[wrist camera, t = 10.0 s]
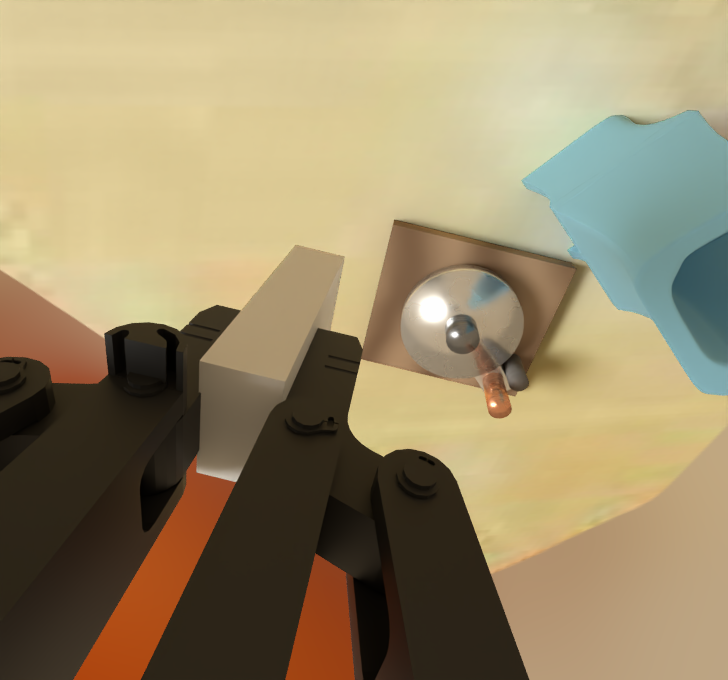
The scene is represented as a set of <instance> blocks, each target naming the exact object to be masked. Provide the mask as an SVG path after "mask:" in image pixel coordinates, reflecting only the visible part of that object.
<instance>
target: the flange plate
mask: <svg viewBox="0 0 728 680" xmlns="http://www.w3.org/2000/svg"><path fill="white" fill-rule="evenodd" d="M523 329H524V316H523V311H522V307H521V305H520V303H519V301H518V298H517V296H516V294H515V292H514V291H513V289H512V287H511V286H510V285H509V284H508V283H507V281H505V280H504V279H503V278H502V277H501V276H499V275H498V274H496V273H495V272H493V271H490V270H488V269H486V268H483V267H479V266H474V265H453V266H448V267H444V268H441V269H438V270H436V271H434V272H432V273H430V274H429V275H427V276H425V277H424V278H423V279H422V280H420V281H419V282H418V283H417V284H416V285H415V286H414V287H413V289H412V290H411V291H410V293H409V294H408V296H407V298H406V300H405V303H404V306H403V310H402V316H401V336H402V340H403V343H404V346H405V348H406V350H407V352H408V353H409V355H410V356H411V357H412V359H413V360H414V361H415V362H416V363H417V364H419V365H420V366H421V367H423V368H424V369H426V370H428V371H429V372H431V373H434V374H436V375H439V376H443V377H448V378H456V379H462V378H472V377H475V379H476V380H477V382H478V383H479V385H480V387H481V388H482V390H483V391H484V393H485V397H486V402H487V407H488V412H489V414H490V415H491V416H492V417H494V418H504V417H506V416H508V415H509V414H510V413H511V410H512V408H511V404H510V400H509V397H508V393H507V391H508V390H510V389H511V388H510V387H509V384H508V380H507V377H506V374H505V370H504V367H503V365H502V364H503V363H504V362H505V361H507V360H508V359H509V357H510V356H511V355H512V354H513V353H514V351H515V350H516V348H517V347H518V345H519V343H520V340H521V337H522V334H523Z"/></svg>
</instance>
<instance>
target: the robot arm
mask: <svg viewBox="0 0 728 680" xmlns="http://www.w3.org/2000/svg"><path fill="white" fill-rule="evenodd" d="M344 258H345V257H344V256H340V255H336V254H331V253H327V252H323V251H319V250H315V249H311V248H307V247H303V246H299V245H295V246H294V248H293V249H292V250H291V251H290V252H289V254H288V255H287V256H286V257H285V258H284V260H283V261H282V262H281V263H280V264H279V266H278V267H277V268H276V269H275V270H274V272H273V273H272V274H271V275H270V276H269V278H268V279H267V280H266V281H265V283H264V284H263V285H262V286H261V287H260V289H259V290H258V291H257V292H256V293H255V295H254V296H253V297H252V298H251V299H250V301H249V302H248V303H247V304H246V305H245V307H244V308H243V309H242V310H241V311H240V310H236V309H232V308H228V307H224V306H219V305H216V306H213V307H211V308H209V309H206V310H204V311H201V312H199V313H198V314H197V315H196V316H195V317H194V318H193V319H192V320H191V321H190V322H189V325H186V326H185V327H184V328H183V329H182V330H181V331H178V330H177V329H175V328H172V327H169V326H167V325H164V324H156V323H149V322H148V323H131V324H127V325H123V326H119V327H116V328H114V329H112V330H110V331H108V332H106V333H104V335H105V345H106V355H107V365H108V375H107V376H106V377H105V378H104V379H103V380H102V381H100V382H99V383H98V384H69V383H52V381H51V375H50V371H49V368H48V367H47V366H45V365H44V364H43V363H41V362H40V361H37V360H33V359H29V358H24V357H3V358H0V680H73V679H74V677H75V676H76V674H77V672H78V671H79V669H80V667H81V666H82V664H83V662H84V660H85V659H86V657H87V655H88V653H89V652H90V650H91V649H92V647H93V645H94V644H95V642H96V640H97V639H98V637H99V635H100V633H101V632H102V630H103V628H104V627H105V625H106V623H107V622H108V620H109V618H110V617H111V615H112V613H113V612H114V610H115V608H116V606H117V605H118V603H119V601H120V600H121V598H122V596H123V594H124V593H125V591H126V589H127V588H128V586H129V585H130V583H131V581H132V579H133V578H134V576H135V574H136V573H137V571H138V569H139V568H140V566H141V564H142V563H143V561H144V559H145V557H146V556H147V554H148V552H149V551H150V549H151V547H152V546H153V544H154V542H155V541H156V539H157V537H158V535H159V534H160V532H161V531H162V529H163V527H164V525H165V524H166V522H167V520H168V519H169V517H170V515H171V514H172V512H173V510H174V508H175V507H176V505H177V504H178V502H179V500H180V498H181V497H182V495H183V492H184V489H185V486H186V471H187V469H188V467H189V466H190V464H191V462H192V461H193V459H194V458H195V456H196V455H197V473H202V474H206V475H210V476H214V477H218V478H222V479H226V480H231V481H234V482H236V484H235V486H234V488H233V490H232V492H231V494H230V496H229V498H228V500H227V502H226V505H225V507H224V509H223V511H222V513H221V515H220V517H219V519H218V521H217V523H216V525H215V528H214V529H213V532H212V534H211V536H210V538H209V540H208V542H207V544H206V546H205V548H204V550H203V552H202V554H201V556H200V558H199V560H198V563H197V565H196V567H195V569H194V571H193V573H192V575H191V577H190V579H189V581H188V583H187V585H186V587H185V589H184V591H183V594H182V596H181V598H180V600H179V602H178V604H177V606H176V608H175V610H174V612H173V614H172V617H171V618H170V620H169V623H168V625H167V627H166V629H165V631H164V633H163V635H162V637H161V639H160V641H159V644H158V646H157V648H156V650H155V652H154V654H153V656H152V658H151V660H150V662H149V664H148V666H147V669H146V670H145V672H144V674H143V676H142V678H141V680H285V678H286V674H287V670H288V666H289V661H290V657H291V653H292V649H293V645H294V640H295V636H296V632H297V628H298V623H299V619H300V615H301V611H302V607H303V602H304V598H305V594H306V590H307V586H308V582H309V577H310V573H311V569H312V565H313V561H314V556H315V553H316V554H318V555H319V556H321V557H322V558H324V559H325V560H327V561H329V562H330V563H332V564H333V565H335V566H337V567H338V568H340V569H341V570H343V571H345V572H346V579H347V592H348V603H349V616H350V628H351V639H352V651H353V663H354V675H355V680H529V678H528V675H527V673H526V669H525V667H524V664H523V661H522V659H521V656H520V653H519V650H518V648H517V645H516V642H515V639H514V637H513V634H512V632H511V629H510V626H509V623H508V621H507V618H506V615H505V612H504V609H503V607H502V604H501V601H500V598H499V596H498V593H497V590H496V587H495V585H494V582H493V580H492V577H491V574H490V571H489V568H488V566H487V563H486V560H485V557H484V555H483V552H482V549H481V546H480V544H479V541H478V538H477V535H476V533H475V530H474V527H473V525H472V522H471V519H470V516H469V514H468V511H467V508H466V505H465V503H464V500H463V497H462V494H461V492H460V489H459V486H458V484H457V481H456V479H455V478H454V476H453V474H452V473H451V471H450V469H449V468H447V467H446V466H445V465H444V464H443V463H442V462H441V461H440V460H439V459H437V458H435V457H433V456H431V455H429V454H427V453H425V452H422V451H417V450H412V449H403V450H395V451H393V452H391V453H389V454H387V455H385V456H384V457H383V456H381V455H379V454H377V453H375V452H373V451H372V450H370V449H368V448H367V447H365V446H364V445H362V444H361V443H360V442H359V441H358V440H357V439H356V438H355V437H354V435H353V434H352V432H351V431H350V429H349V425H348V412H349V408H350V403H351V399H352V395H353V391H354V386H355V382H356V378H357V373H358V369H359V365H360V361H361V356H362V352H363V349H362V347H361V345H360V342H359V340H358V338H357V337H353V336H349V335H345V334H341V333H337V332H333V331H330V329H331V324H332V319H333V314H334V309H335V304H336V299H337V293H338V288H339V283H340V278H341V273H342V268H343V263H344Z"/></svg>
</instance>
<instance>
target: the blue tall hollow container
mask: <svg viewBox="0 0 728 680" xmlns="http://www.w3.org/2000/svg"><path fill="white" fill-rule="evenodd" d="M521 181H522V182H523V184H524V185H525V187H526V188H527V189H529V190H532V191H534V192H537V193H539V194H541V195H543V196H545V197H547V198H548V199H550V208H551V210H552V211H553V213H554V214H555V216H556V217H557V219H558V220H559V222H560V223H561V225H562V226H563V228H564V230H565V231H566V233H567V234H568V236H569V237H570V239H571V240H572V242H573V243H574V246H573V247H571V248H570V249H568V252H569V253H570V255H571V256H572V258H574V259H579V260H583V261H585V262H586V263H587V264H588V266H589V268H590V269H591V271H592V272H593V274H594V275H595V277H596V279H597V280H598V282H599V283H600V285H601V286H602V288H603V290H604V291H605V293H606V294H607V296H608V297H609V299H610V300H611V302H612V303H613V304H614V305H615V307H616V308H617V309H618V310H624V311H630V312H634V313H638V314H641V315H643V316H646V317H648V318H650V319H652V320H653V321H654V323H655V324H656V326H657V328H658V329H659V331H660V332H661V334H662V336H663V337H664V339H665V340H666V342H667V344H668V345H669V347H670V348H671V350H672V352H673V353H674V355H675V356H676V358H677V360H678V361H679V363H680V364H681V366H682V368H683V369H684V371H685V372H686V374H687V375H688V377H689V378H690V380H691V381H692V383H693V384H694V385H695V386H696V387H697V388H698V389H699V390H700V391H701V392H703V393H706V394H713V395H728V140H726V139H725V138H723V137H722V136H720V135H719V134H717V133H716V132H715V131H714V130H713V129H712V128H711V127H710V126H709V124H708V123H707V122H706V120H705V119H704V118H703V117H702V115H701V114H700V113H699V111H693V110H687V111H686V112H683V113H681V114H679V115H676V116H674V117H672V118H669V119H666V120H664V121H661V122H657V123H654V124H648V125H639V124H635V123H634V122H632V121H631V120H630V119H629V118H628V117H626V116H623V115H615V116H611V117H609V118H607V119H605V120H603V121H602V122H600V123H599V124H597V125H596V126H594V127H593V128H592V129H590V130H589V131H587V132H586V133H585V134H583V135H582V136H581V137H579V138H578V139H577V140H575V141H574V142H573V143H571V144H570V145H569V146H567V147H566V148H565V149H563V150H562V151H560V152H559V153H558V154H556V155H555V156H554V157H552V158H551V159H550V160H548V161H547V162H546V163H544V164H543V165H542V166H540V167H539V168H538V169H536V170H535V171H533V172H532V173H531V174H529V175H528V176H527V177H525V178H524V179H523V180H521Z"/></svg>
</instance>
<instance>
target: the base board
mask: <svg viewBox="0 0 728 680" xmlns="http://www.w3.org/2000/svg"><path fill="white" fill-rule="evenodd" d="M453 265H474V266H479V267H483V268H486V269H488V270H490V271H493V272H495V273H496V274H498V275H499V276H501V277H502V278H503V279H504V280H505V281H507V283H508V284H509V285H510V286H511V287H512V289H513V291H514V292H515V294H516V296H517V298H518V301H519V303H520V305H521V307H522V311H523V316H524V329H523V334H522V337H521V340H520V343H519V345H518V347H517V348H516V350H515V351H514V353H513V354H512V355H511V356H510V357H509V359H508V360H507V361H505V362H504V363H503V364H502V365H503V367H504V370H505V374H506V377H507V380H508V384H509V387H510V388H511V389H510V390H508V391H507V393H508V395H511V396H516V394H517V392H518V391H522V390H524V389H526V388H527V387H528V384H529V381H528V378H527V375H526V373H527V371H528V369H529V367H530V365H531V363H532V360H533V358H534V356H535V354H536V352H537V350H538V348H539V346H540V344H541V342H542V340H543V338H544V336H545V333H546V331H547V329H548V327H549V325H550V323H551V321H552V319H553V317H554V315H555V313H556V311H557V309H558V306H559V304H560V302H561V300H562V298H563V296H564V294H565V292H566V290H567V288H568V286H569V284H570V282H571V279H572V277H573V275H574V273H575V271H576V268H575V267H574V266H573V265H572V263H570V262H566V261H561V260H557V259H553V258H549V257H545V256H541V255H537V254H533V253H529V252H524V251H520V250H516V249H512V248H508V247H504V246H500V245H496V244H492V243H487V242H483V241H479V240H475V239H471V238H467V237H463V236H459V235H455V234H450V233H446V232H442V231H438V230H434V229H430V228H426V227H422V226H418V225H413V224H409V223H405V222H401V221H397V220H394V223H393V227H392V231H391V235H390V239H389V243H388V248H387V252H386V256H385V260H384V264H383V268H382V272H381V276H380V280H379V284H378V288H377V292H376V297H375V301H374V305H373V309H372V313H371V317H370V321H369V325H368V329H367V333H366V337H365V341H364V346H363V352H362V356H361V359H363V360H367V361H371V362H375V363H379V364H384V365H388V366H392V367H396V368H400V369H404V370H408V371H412V372H417V373H421V374H425V375H429V376H433V377H437V378H441V379H445V380H450V381H454V382H458V383H462V384H466V385H470V386H474V387H478V388H481V387H480V385H479V383H478V382H477V380H476V379H475V377H472V378H462V379H456V378H448V377H443V376H439V375H436V374H434V373H431V372H429V371H428V370H426V369H424V368H423V367H421V366H420V365H419V364H417V363H416V362H415V361H414V360H413V359H412V357H411V356H410V355H409V353H408V352H407V350H406V348H405V346H404V343H403V340H402V336H401V316H402V310H403V306H404V303H405V300H406V298H407V296H408V294H409V293H410V291H411V290H412V289H413V287H414V286H415V285H416V284H417V283H418V282H419V281H420V280H422V279H423V278H424V277H425V276H427V275H429V274H430V273H432V272H434V271H436V270H438V269H441V268H444V267H448V266H453Z"/></svg>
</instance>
